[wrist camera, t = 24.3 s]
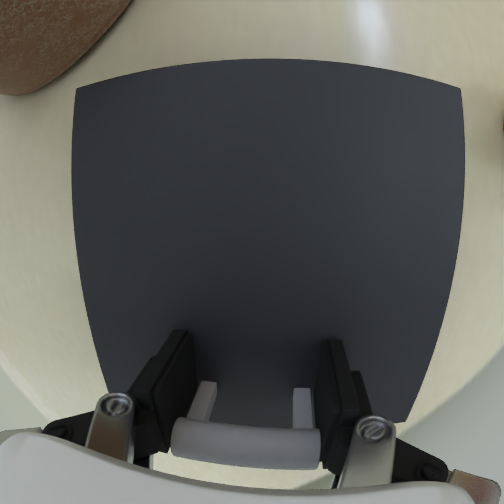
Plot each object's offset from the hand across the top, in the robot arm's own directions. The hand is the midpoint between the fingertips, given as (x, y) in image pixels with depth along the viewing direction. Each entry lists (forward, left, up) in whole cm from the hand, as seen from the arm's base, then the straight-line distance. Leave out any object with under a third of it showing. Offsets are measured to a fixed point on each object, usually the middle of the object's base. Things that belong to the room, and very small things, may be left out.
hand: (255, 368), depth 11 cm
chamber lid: (-3, +3, -1) cm, 4 cm away
